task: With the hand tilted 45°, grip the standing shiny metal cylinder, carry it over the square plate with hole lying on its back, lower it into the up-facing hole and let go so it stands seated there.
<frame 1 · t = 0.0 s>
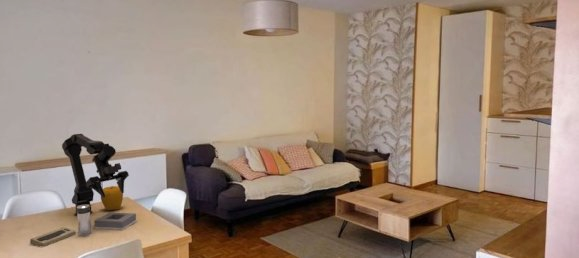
hand: (113, 195, 192), 15 cm above the table, tool tilted 35°, fingers open, 9 cm apart
computer: (53, 240, 178), on the table
shiny metal cylinder: (85, 234, 183), on the table
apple: (113, 209, 220), on the table
square plate with hole: (116, 225, 195), on the table
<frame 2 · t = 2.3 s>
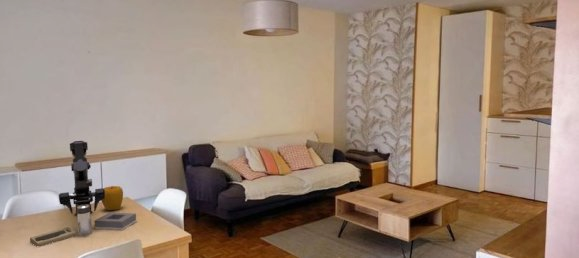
hand: (83, 212, 184), 10 cm above the table, tool tilted 45°, fingers open, 9 cm apart
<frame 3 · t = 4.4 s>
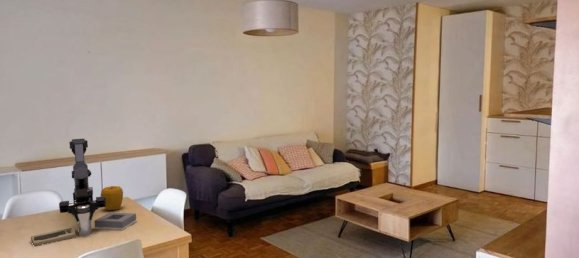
hand: (84, 220, 181), 7 cm above the table, tool tilted 45°, fingers closed on shiny metal cylinder, 5 cm apart
shiny metal cylinder: (85, 234, 183), on the table, touching gripper
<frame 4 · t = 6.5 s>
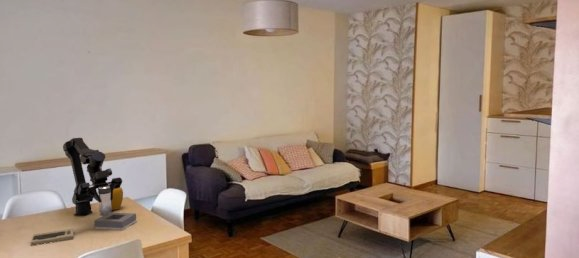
hand: (106, 200, 188), 13 cm above the table, tool tilted 45°, fingers closed on shiny metal cylinder, 5 cm apart
shiny metal cylinder: (105, 214, 190), point 7 cm above the table, touching gripper
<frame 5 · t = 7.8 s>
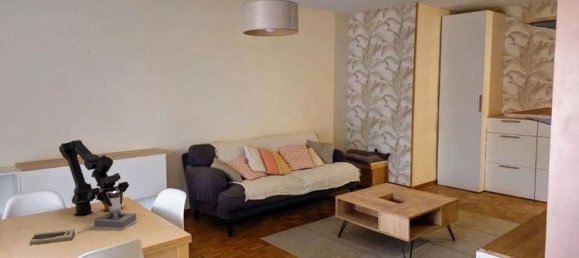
hand: (116, 204, 193), 10 cm above the table, tool tilted 45°, fingers closed on shiny metal cylinder, 5 cm apart
shiny metal cylinder: (115, 217, 195), point 4 cm above the table, touching gripper
when the fingers open (9 cm above the table, at t = 8.9 s): shiny metal cylinder drops 1 cm, resting on square plate with hole.
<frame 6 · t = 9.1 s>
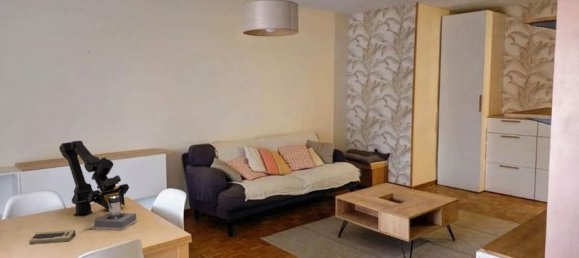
hand: (116, 207, 193), 9 cm above the table, tool tilted 45°, fingers open, 7 cm apart
shiny metal cylinder: (115, 222, 195), point 1 cm above the table, touching square plate with hole
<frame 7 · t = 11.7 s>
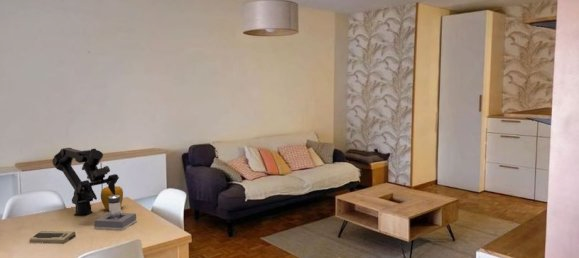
hand: (105, 196, 198), 13 cm above the table, tool tilted 45°, fingers open, 9 cm apart
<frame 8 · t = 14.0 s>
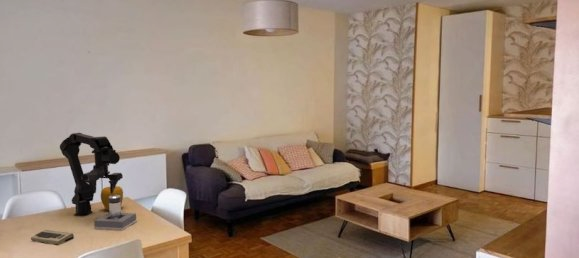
hand: (103, 193, 203), 13 cm above the table, tool pointing down, fingers open, 9 cm apart
at the end: shiny metal cylinder 0.1 cm off-centre on the square plate with hole, point 1.0 cm above the square plate with hole's base; shiny metal cylinder tilted 1°; the gripper is holding nothing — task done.
